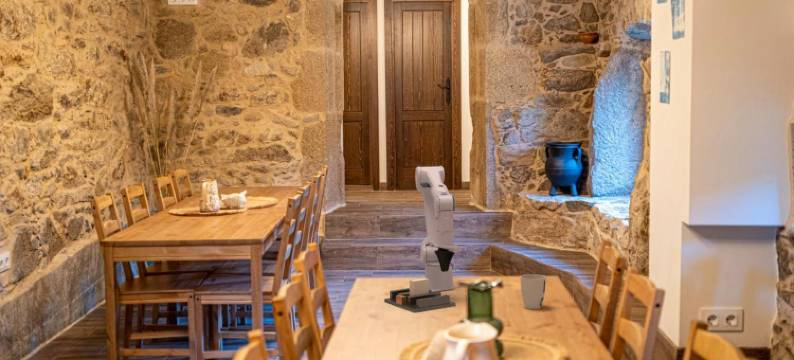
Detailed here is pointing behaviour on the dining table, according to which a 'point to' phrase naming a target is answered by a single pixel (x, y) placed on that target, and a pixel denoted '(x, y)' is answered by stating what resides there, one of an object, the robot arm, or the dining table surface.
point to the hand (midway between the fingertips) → (444, 271)
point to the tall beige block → (419, 286)
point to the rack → (418, 300)
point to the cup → (533, 290)
